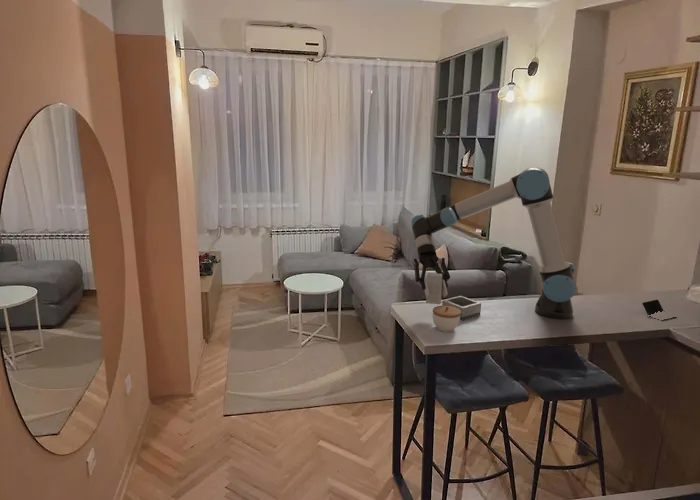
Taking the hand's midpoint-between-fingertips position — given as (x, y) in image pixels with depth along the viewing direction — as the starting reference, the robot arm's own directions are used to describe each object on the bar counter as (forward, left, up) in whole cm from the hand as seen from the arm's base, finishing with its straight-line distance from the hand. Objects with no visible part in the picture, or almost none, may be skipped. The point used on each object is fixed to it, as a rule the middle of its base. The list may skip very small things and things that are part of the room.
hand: (436, 295), depth 189 cm
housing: (0, -16, -11) cm, 19 cm away
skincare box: (+3, -2, -4) cm, 6 cm away
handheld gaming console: (-48, -89, -11) cm, 101 cm away
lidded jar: (-8, +2, -11) cm, 14 cm away
